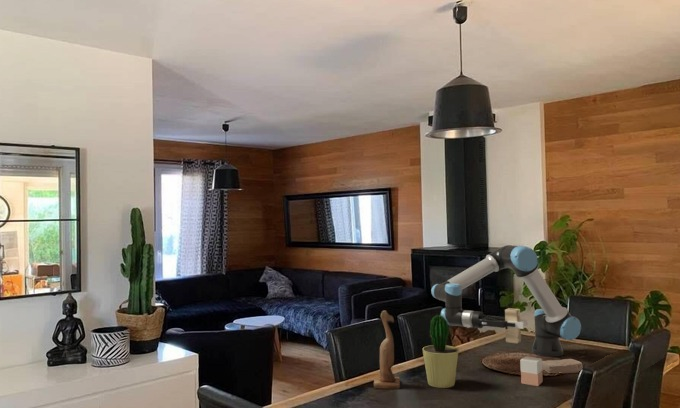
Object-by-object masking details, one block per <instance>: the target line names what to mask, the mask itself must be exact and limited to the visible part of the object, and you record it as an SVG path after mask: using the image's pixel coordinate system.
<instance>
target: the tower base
mask: <svg viewBox="0 0 680 408" xmlns="http://www.w3.org/2000/svg"><path fill="white" fill-rule="evenodd" d="M520 379H521V380H520V382H521V384H523V385H524V384H525V385H529V386H534V387H535V386H536V387H539V386H540V385H541V384H542V383H543V379H544V378H543V370H542V371H541V372H540V373H538V374H533V373H526V372H521V371H520Z"/></svg>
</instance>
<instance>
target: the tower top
mask: <svg viewBox="0 0 680 408" xmlns="http://www.w3.org/2000/svg"><path fill="white" fill-rule="evenodd" d="M542 361H543V359H542V358H539V357H534V356H533V357H532V356H524V357H522V358H521V359H520V360H519V363H520V373H521V372H526V373H533V374H538V373H540V372H541V371H542V372H543V370H542Z"/></svg>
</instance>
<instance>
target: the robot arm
mask: <svg viewBox="0 0 680 408" xmlns="http://www.w3.org/2000/svg"><path fill="white" fill-rule="evenodd" d="M538 268H539V264H538V256H537V253H536V252H535V250H534V249H532V248H531V247H528V246H525V245H509V244H508V245H504V246H501V247H499V248H496V250H493V251H492V252H490V253H488V254H486V256H485V258H484V259H482V260H480V261H478V262H477V263H475V264H474V265H471V266H470V267H468V268H467V269H465V270H464V271H462V272H460V273H458V274H456V275H455V276H452V277H451V278H449V279H447V280H446V281H443V282H442V283H435V284H434V285H433V286H431V290H430V291H431V292H430V293H431V295H432V297H433V298H435V299H436V300H439V301H442V302H444V303H445V307H444V308H442V309H441V311H440V315H441V316H442V315H443V316H445V317H444V318H445V320H446V321H447V322H448V326H455V327H457V326H458V327H465V328H466V329H469V328H473V329H483V327H491V328H492V327H494V328H499V329H500V328H501V329H505V330H506V329H508V328H507V326H508V327H509V328H519V329H521V330H524V329H525V327H528V323H529V322H528V320H527V319H521V318H520V322H515V321H508V323H507V321H505V316H496V315H486V316H485V314H484V312H483V311H479V310H478V311H477V310H468V309H463V306H462V304H463V303H462V301H463V300H462V298H463V297H462V294H463V291H462V290H464V289H466V288H467V287H469V286H470V285H473V284H475V283H476V282H479V280H481V279H484V277H487V276H488V275H490V274H492V273H493V272H499V271H501V270H504V269H511V270H512V272H513V273H514V274H515V276H516V277H517V278H520V279H522V281H523V282H524V284H525V285H526V286H527V288H528V290H529V291H530V293H531V294H532V296H533V297H534V299H535V301H536V302H537V304H538V305H539V307H540V308H537V309H535V311H534V314H533V315H534V316H533V317H534V341H533V343H532V345H531V353H532V354H533V355H534V354H535V355H537V356H542V357H553V358H555V357H560V356H563V355H564V349H563V347H562V346H563V345H562V344H561V340H560V339H562V340H564V341H565V340H567V341H573V340H575V339H577V338H578V336H579V335H580V333H581V329H582V324H581V321H580V320H579V318H577V317H576V316H572V315H571V313H570V312H569V309H567V307H564V306H562V305H561V304H560V302H559V300H558V299H557V297H556V296H555V294H554V293H553V291H552V289H551V287H550V286H549V285H548V283H547V282H546V280H545V278H544V277H543V276H542V273H540V271H539V269H538Z"/></svg>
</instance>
